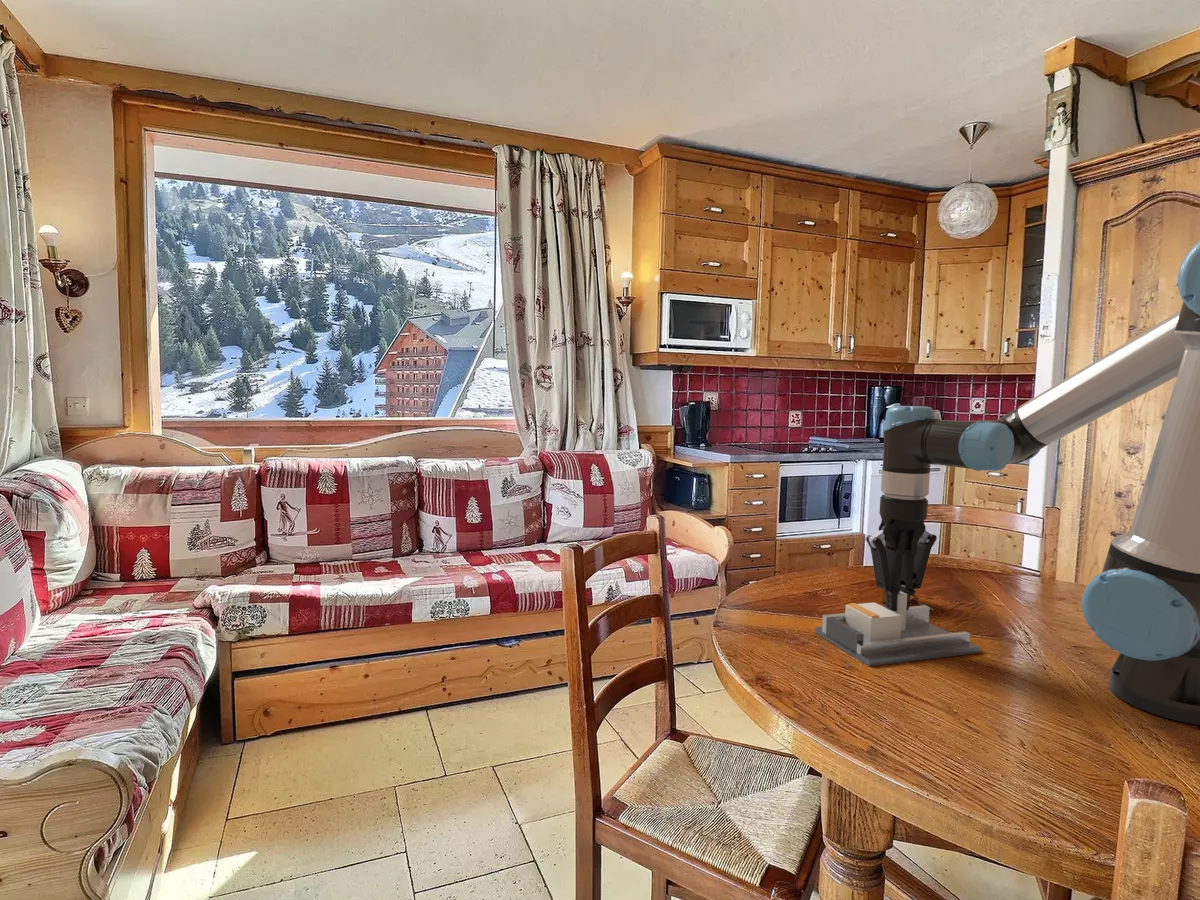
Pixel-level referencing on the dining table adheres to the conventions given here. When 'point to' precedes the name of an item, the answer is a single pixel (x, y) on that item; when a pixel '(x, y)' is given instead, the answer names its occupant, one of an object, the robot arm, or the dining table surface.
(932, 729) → the dining table surface
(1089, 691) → the dining table surface
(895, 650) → the rail base
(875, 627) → the block
